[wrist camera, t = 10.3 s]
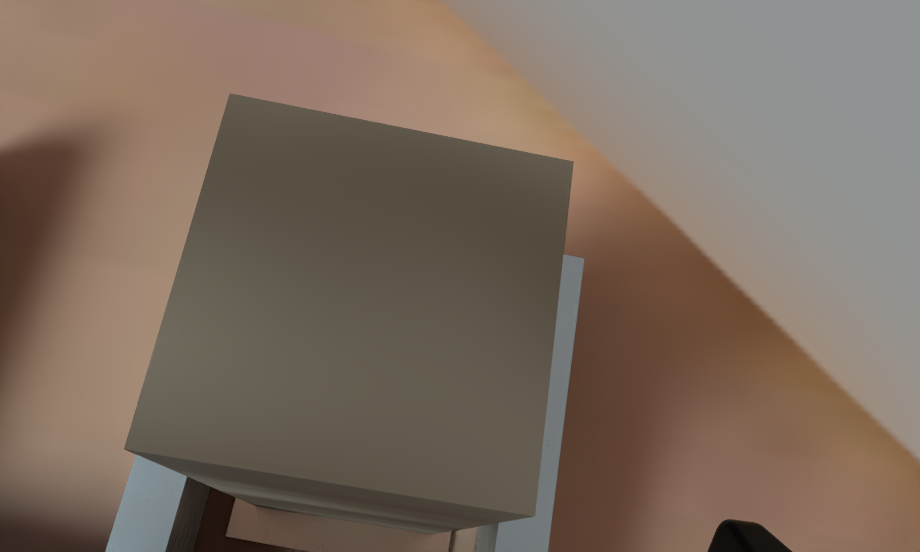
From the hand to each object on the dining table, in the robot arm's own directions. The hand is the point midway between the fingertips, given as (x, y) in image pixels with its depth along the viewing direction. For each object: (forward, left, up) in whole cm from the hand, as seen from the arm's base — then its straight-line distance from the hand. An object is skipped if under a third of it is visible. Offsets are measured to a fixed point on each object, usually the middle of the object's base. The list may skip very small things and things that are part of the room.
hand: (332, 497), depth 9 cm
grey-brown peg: (+2, -1, -12) cm, 12 cm away
